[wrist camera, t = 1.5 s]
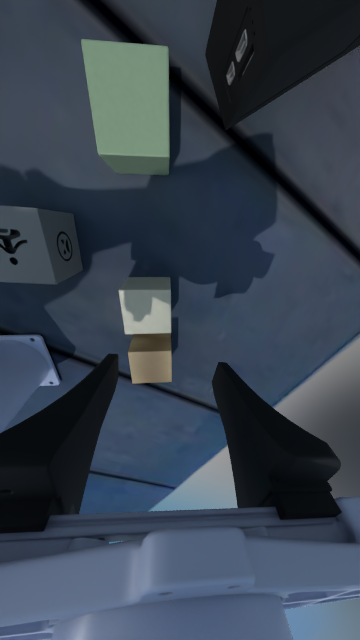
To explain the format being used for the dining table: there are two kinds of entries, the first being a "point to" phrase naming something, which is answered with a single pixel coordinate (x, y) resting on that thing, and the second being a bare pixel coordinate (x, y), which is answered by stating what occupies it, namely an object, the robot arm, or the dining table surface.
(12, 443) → the robot arm
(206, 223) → the dining table surface
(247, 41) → the digital camera
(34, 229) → the dice cube
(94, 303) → the dining table surface
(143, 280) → the cream block
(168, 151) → the sage block
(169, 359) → the maple block
